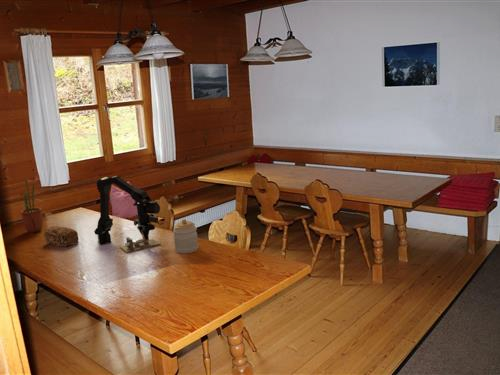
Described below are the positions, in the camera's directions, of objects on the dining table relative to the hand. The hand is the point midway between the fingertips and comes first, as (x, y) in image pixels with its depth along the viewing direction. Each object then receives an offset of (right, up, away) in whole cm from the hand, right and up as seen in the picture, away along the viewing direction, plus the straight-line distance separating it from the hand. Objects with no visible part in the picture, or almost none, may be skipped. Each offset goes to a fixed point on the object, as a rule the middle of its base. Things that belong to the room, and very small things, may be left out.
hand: (145, 239), depth 278 cm
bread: (-55, -5, +17) cm, 57 cm away
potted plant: (-83, 0, +45) cm, 94 cm away
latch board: (-3, -4, -1) cm, 5 cm away
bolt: (-4, -2, -2) cm, 6 cm away
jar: (+25, -5, -12) cm, 28 cm away
